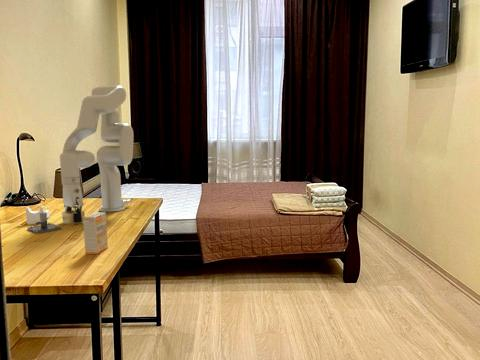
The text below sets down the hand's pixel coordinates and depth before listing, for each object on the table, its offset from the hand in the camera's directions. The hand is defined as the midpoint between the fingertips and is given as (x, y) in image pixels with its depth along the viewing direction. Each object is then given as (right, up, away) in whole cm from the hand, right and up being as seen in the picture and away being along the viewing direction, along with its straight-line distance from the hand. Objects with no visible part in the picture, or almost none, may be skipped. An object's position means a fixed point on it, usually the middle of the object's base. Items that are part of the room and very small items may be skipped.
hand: (73, 220), depth 213 cm
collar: (0, -1, 0) cm, 1 cm away
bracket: (-18, -1, +6) cm, 19 cm away
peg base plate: (-8, -3, -11) cm, 14 cm away
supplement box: (+23, -7, -44) cm, 50 cm away
